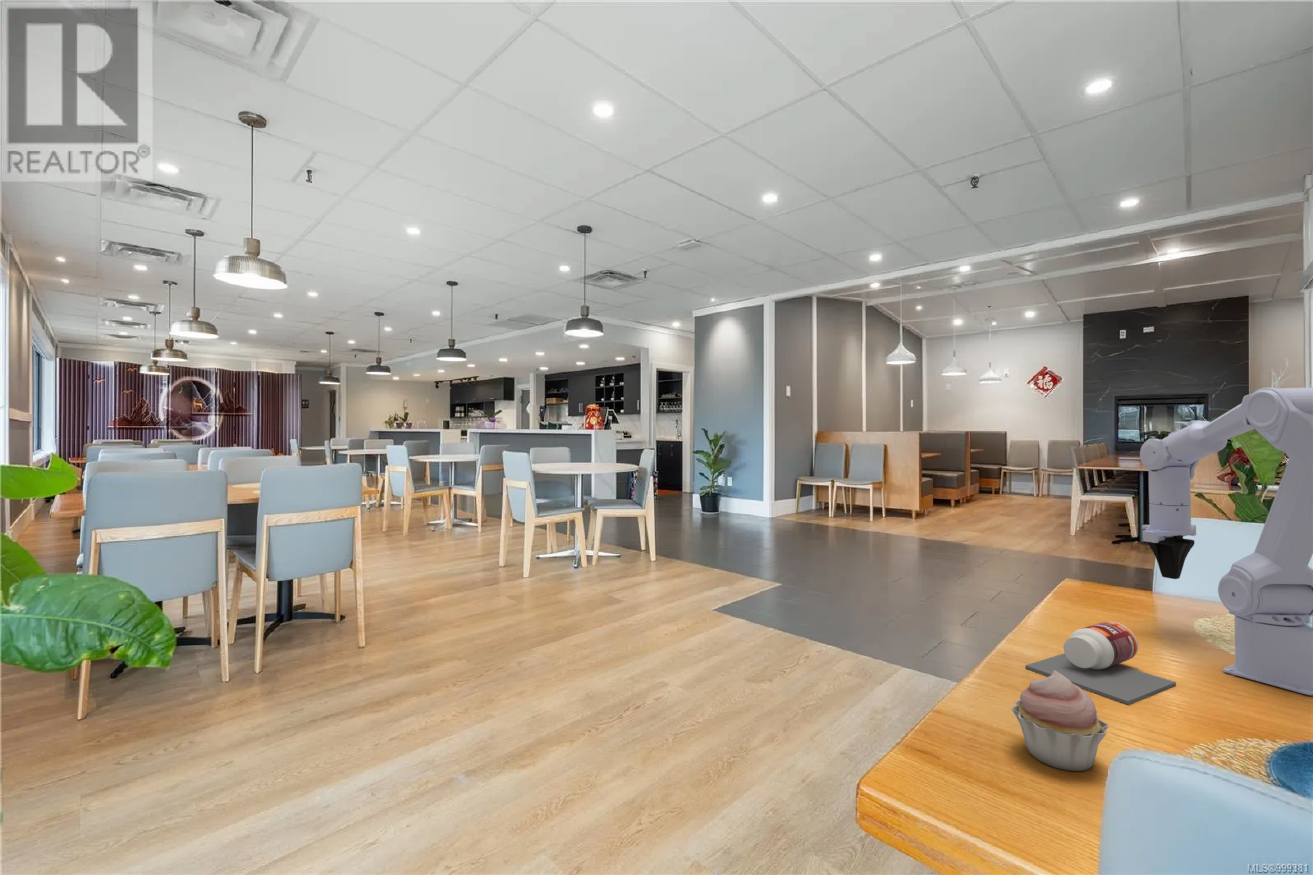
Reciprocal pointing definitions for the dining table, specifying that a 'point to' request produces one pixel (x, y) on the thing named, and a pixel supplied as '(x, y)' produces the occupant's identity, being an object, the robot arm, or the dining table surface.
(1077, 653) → the pill bottle
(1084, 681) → the mat
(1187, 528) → the robot arm
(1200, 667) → the dining table surface
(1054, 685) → the cupcake
